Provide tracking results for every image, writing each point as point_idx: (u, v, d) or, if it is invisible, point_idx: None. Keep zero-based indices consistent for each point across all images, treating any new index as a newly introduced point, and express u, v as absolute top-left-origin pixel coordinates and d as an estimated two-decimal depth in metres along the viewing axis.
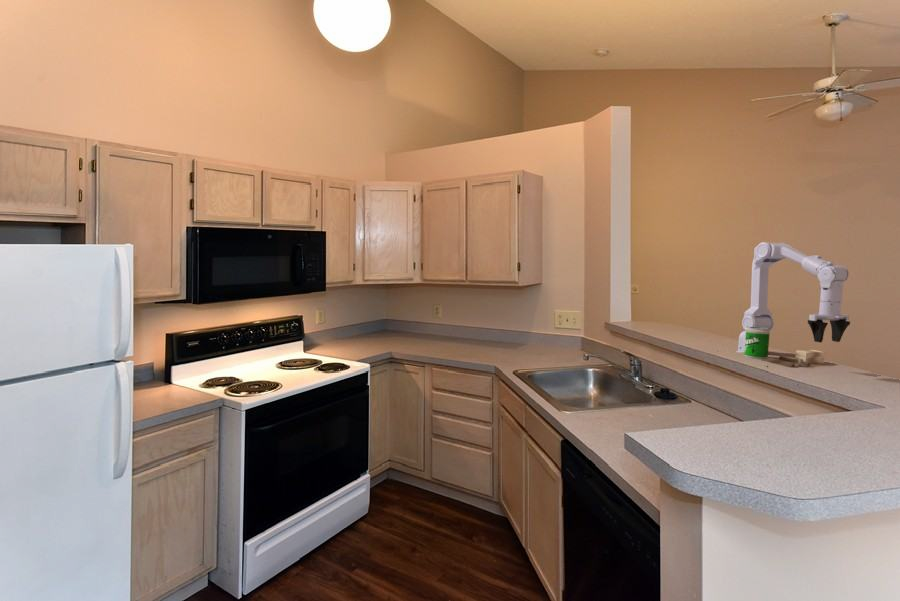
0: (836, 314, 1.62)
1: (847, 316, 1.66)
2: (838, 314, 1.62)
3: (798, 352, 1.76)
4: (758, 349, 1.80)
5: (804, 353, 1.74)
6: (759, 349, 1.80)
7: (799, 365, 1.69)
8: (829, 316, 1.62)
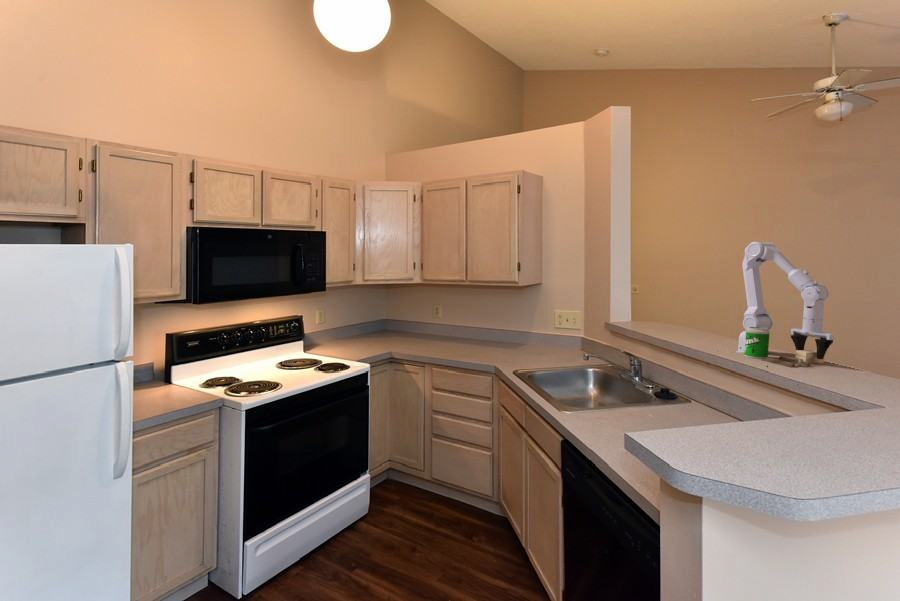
0: (804, 330, 1.75)
1: (827, 335, 1.69)
2: (806, 330, 1.75)
3: (798, 352, 1.76)
4: (758, 349, 1.80)
5: (804, 353, 1.74)
6: (759, 349, 1.80)
7: (799, 365, 1.69)
8: (799, 331, 1.78)
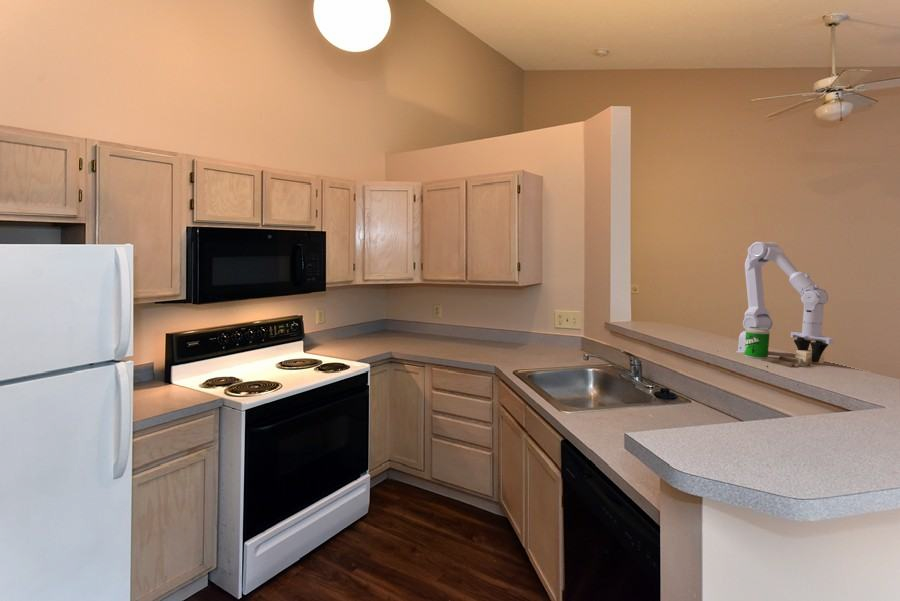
0: (803, 334, 1.75)
1: (826, 339, 1.69)
2: (805, 334, 1.75)
3: (798, 352, 1.76)
4: (758, 349, 1.80)
5: (804, 353, 1.74)
6: (759, 349, 1.80)
7: (799, 365, 1.69)
8: (799, 334, 1.78)
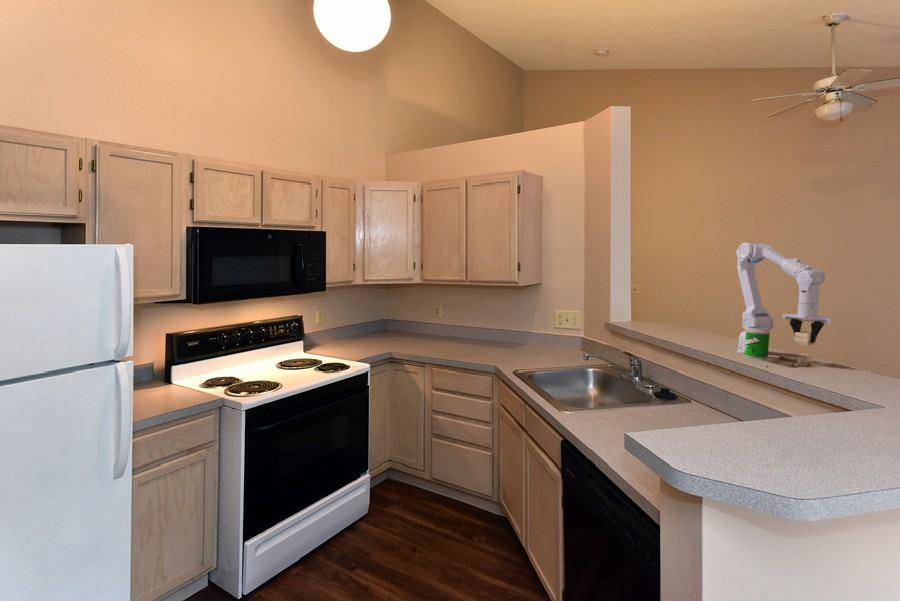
0: (802, 315, 1.73)
1: (828, 319, 1.69)
2: (805, 315, 1.72)
3: (798, 334, 1.73)
4: (758, 349, 1.80)
5: (805, 335, 1.72)
6: (759, 349, 1.80)
7: (799, 365, 1.69)
8: (795, 316, 1.75)
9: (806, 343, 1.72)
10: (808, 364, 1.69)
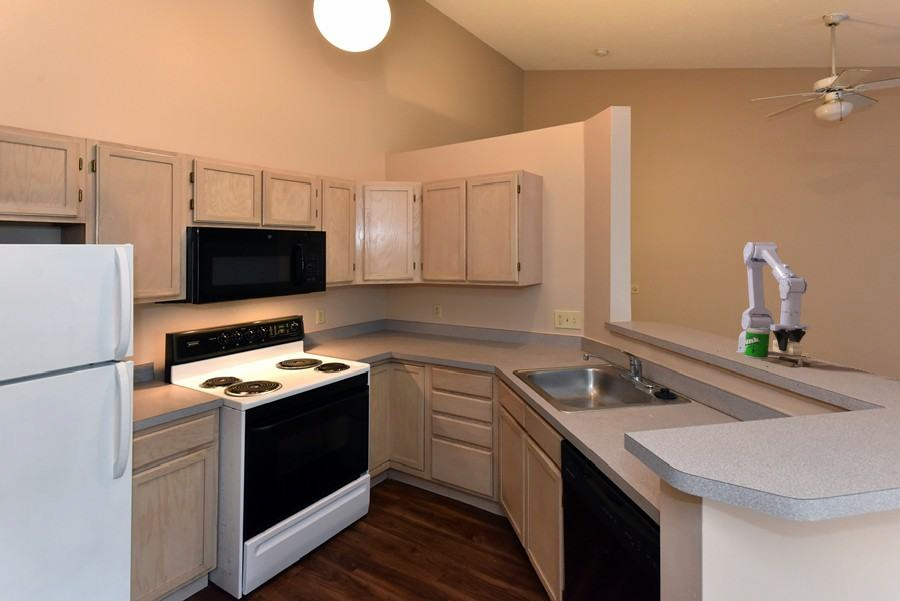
0: (795, 324, 1.70)
1: (807, 326, 1.73)
2: (797, 324, 1.70)
3: (795, 345, 1.70)
4: (758, 349, 1.80)
5: (801, 344, 1.70)
6: (759, 349, 1.80)
7: (799, 365, 1.69)
8: (789, 326, 1.70)
9: (801, 352, 1.70)
10: (808, 364, 1.69)
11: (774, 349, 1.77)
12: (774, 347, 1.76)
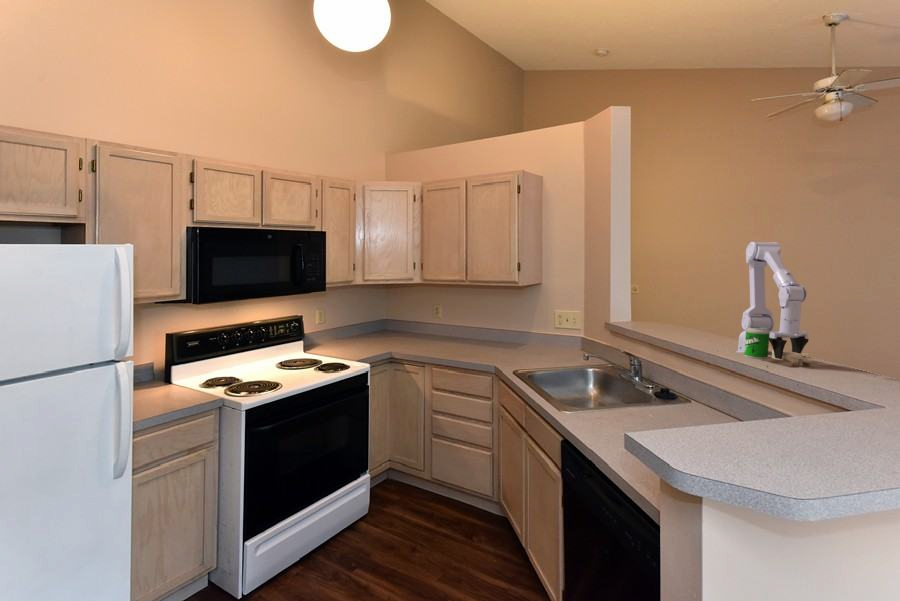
0: (795, 332, 1.70)
1: (806, 334, 1.74)
2: (797, 332, 1.70)
3: (795, 355, 1.70)
4: (758, 349, 1.80)
5: (800, 355, 1.70)
6: (759, 349, 1.80)
7: (799, 365, 1.69)
8: (788, 334, 1.70)
9: None
10: (808, 364, 1.69)
11: None
12: (773, 357, 1.77)
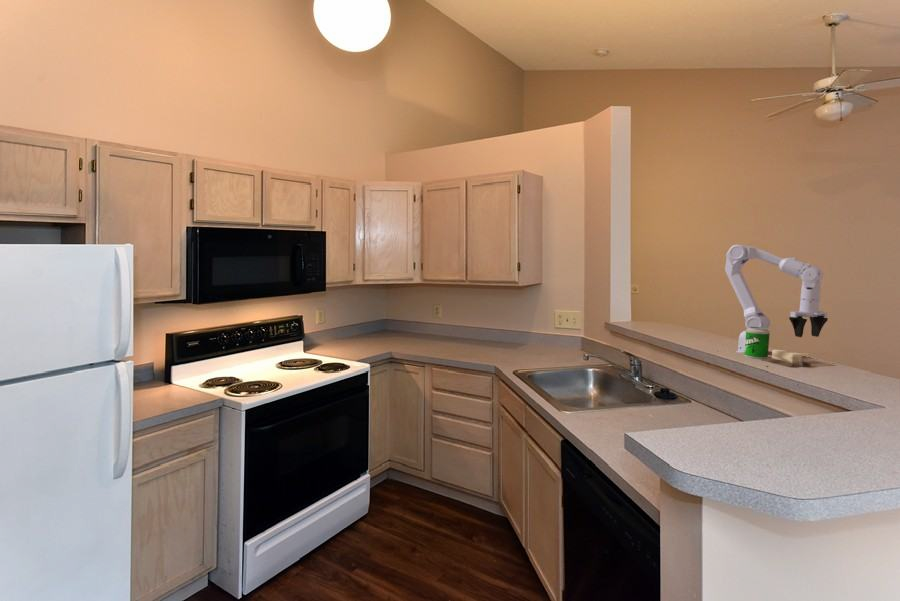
0: (815, 311, 1.78)
1: (825, 313, 1.81)
2: (816, 311, 1.78)
3: (795, 355, 1.70)
4: (758, 349, 1.80)
5: (800, 355, 1.70)
6: (759, 349, 1.80)
7: (799, 365, 1.69)
8: (808, 313, 1.78)
9: None
10: (808, 364, 1.69)
11: None
12: (773, 357, 1.77)
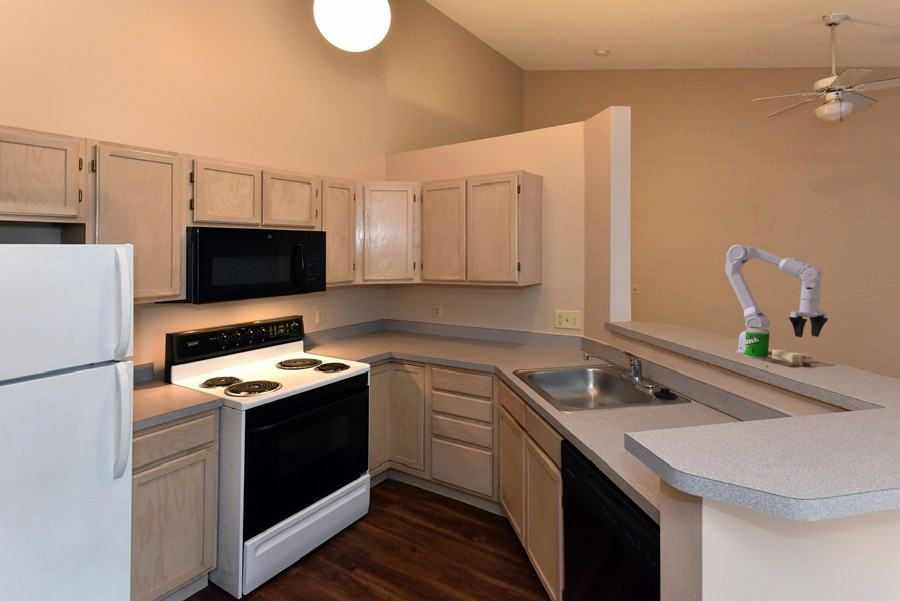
0: (815, 311, 1.78)
1: (825, 313, 1.81)
2: (816, 311, 1.78)
3: (795, 355, 1.70)
4: (758, 349, 1.80)
5: (800, 355, 1.70)
6: (759, 349, 1.80)
7: (799, 365, 1.69)
8: (808, 313, 1.78)
9: None
10: (808, 364, 1.69)
11: None
12: (773, 357, 1.77)
